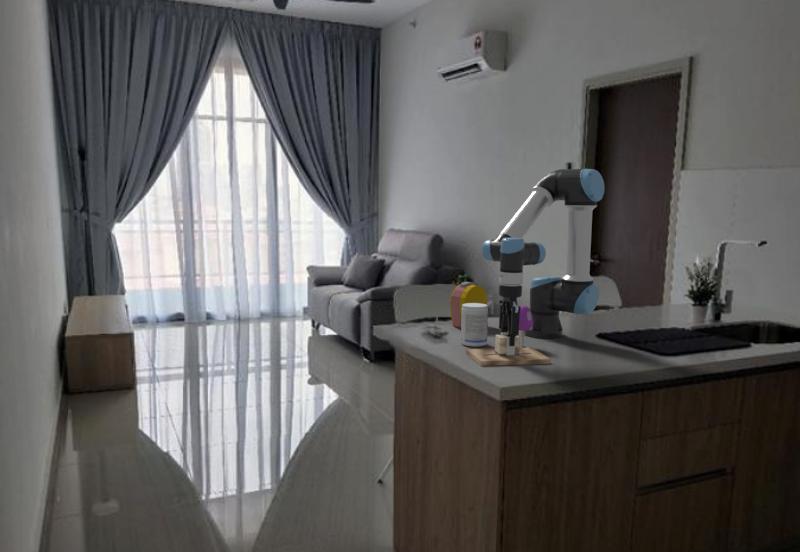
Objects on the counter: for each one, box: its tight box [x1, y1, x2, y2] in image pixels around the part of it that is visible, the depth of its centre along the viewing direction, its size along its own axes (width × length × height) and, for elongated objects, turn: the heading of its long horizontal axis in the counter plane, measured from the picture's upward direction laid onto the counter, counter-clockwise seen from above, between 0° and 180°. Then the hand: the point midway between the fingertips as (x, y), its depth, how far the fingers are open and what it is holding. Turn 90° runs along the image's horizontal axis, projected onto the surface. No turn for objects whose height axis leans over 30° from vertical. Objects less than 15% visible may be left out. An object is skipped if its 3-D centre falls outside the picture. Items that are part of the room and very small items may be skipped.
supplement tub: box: [460, 303, 489, 348], centre depth 231 cm, size 10×10×15 cm
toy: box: [519, 305, 533, 348], centre depth 229 cm, size 7×7×15 cm
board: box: [465, 347, 552, 367], centre depth 212 cm, size 24×16×2 cm, turn 101°
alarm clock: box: [449, 281, 489, 329], centre depth 264 cm, size 15×8×18 cm, turn 133°
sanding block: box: [494, 334, 521, 356], centre depth 212 cm, size 7×4×6 cm, turn 101°
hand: (507, 353), depth 212 cm, fingers closed on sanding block, 4 cm apart
